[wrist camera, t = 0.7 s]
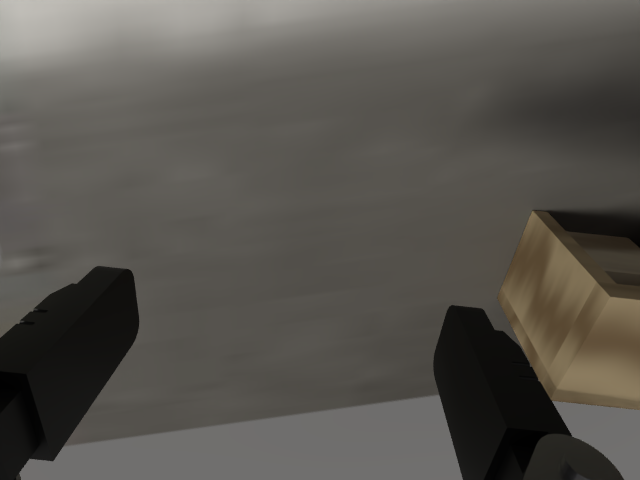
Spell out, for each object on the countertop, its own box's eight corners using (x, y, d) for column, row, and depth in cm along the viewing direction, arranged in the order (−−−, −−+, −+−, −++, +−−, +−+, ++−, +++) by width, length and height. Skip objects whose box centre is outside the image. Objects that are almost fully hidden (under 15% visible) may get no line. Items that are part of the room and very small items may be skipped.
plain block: (557, 229, 28) (594, 269, 24) (626, 237, 28) (676, 278, 24) (532, 285, 30) (562, 330, 26) (596, 292, 30) (636, 338, 26)
